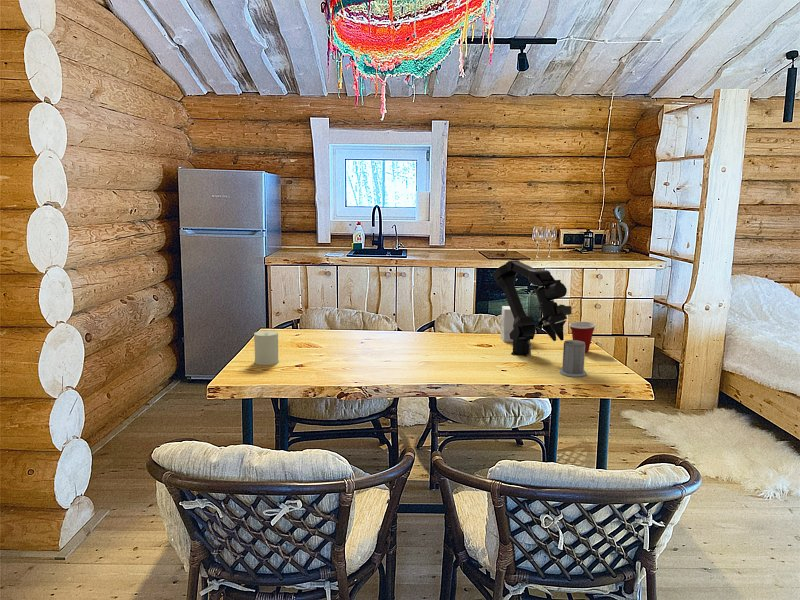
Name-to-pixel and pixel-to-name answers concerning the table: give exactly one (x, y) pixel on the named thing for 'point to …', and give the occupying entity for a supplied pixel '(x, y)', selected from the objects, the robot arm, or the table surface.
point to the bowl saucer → (573, 374)
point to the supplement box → (506, 324)
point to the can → (266, 347)
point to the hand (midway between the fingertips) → (558, 340)
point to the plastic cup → (583, 332)
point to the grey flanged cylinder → (573, 357)
